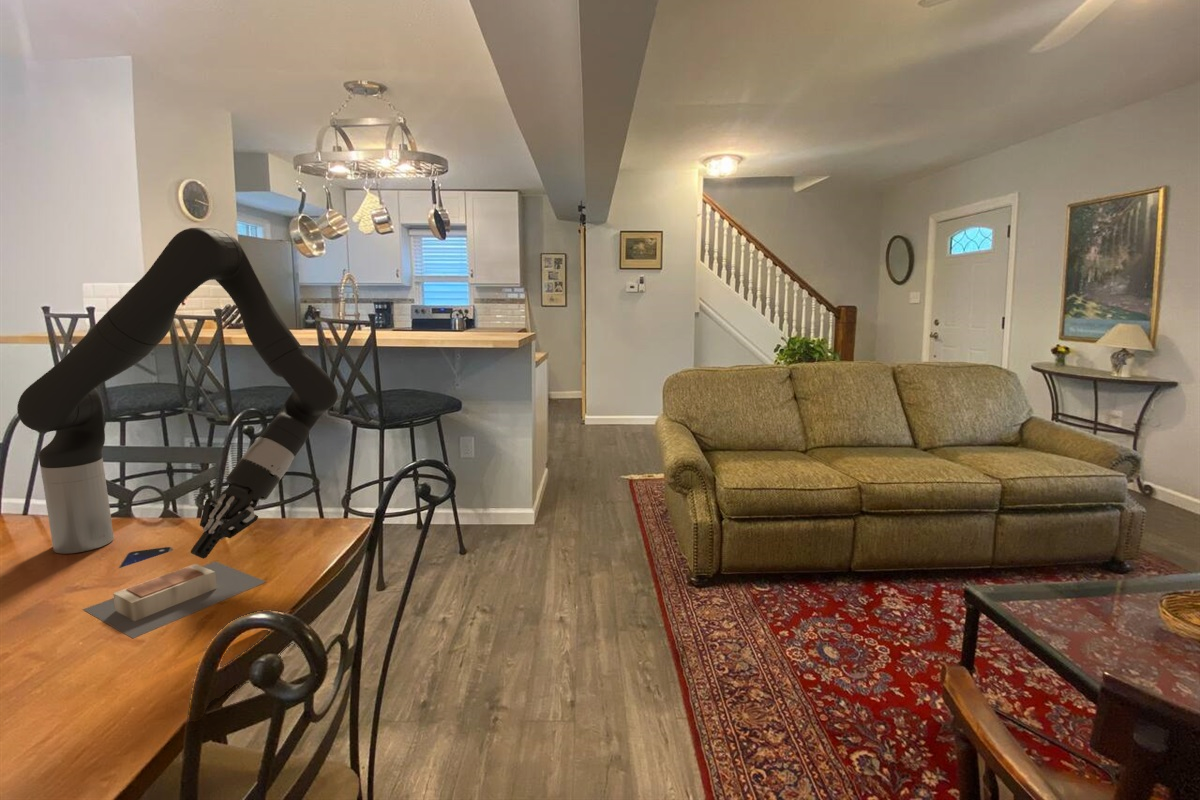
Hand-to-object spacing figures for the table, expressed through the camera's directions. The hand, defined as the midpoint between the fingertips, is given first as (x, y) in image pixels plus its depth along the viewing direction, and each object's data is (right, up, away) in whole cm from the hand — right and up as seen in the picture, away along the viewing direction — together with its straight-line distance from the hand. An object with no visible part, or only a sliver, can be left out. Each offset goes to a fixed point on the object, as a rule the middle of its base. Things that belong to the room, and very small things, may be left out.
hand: (197, 555), depth 101 cm
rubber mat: (-2, -7, -2) cm, 7 cm away
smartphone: (-17, -5, +10) cm, 20 cm away
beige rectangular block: (+1, -4, +1) cm, 4 cm away
